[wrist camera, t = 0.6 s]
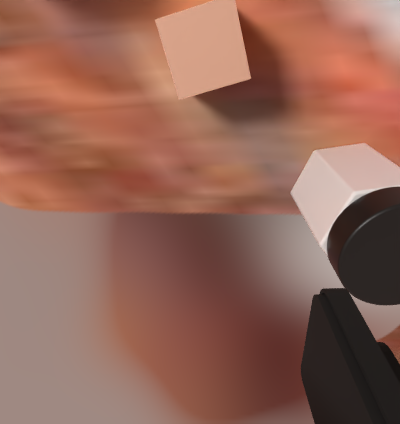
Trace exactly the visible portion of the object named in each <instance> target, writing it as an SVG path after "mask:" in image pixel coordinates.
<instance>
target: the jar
mask: <svg viewBox="0 0 400 424" xmlns="http://www.w3.org/2000/svg"><path fill="white" fill-rule="evenodd" d="M291 195H292V197H293V199H294V201H295V203H296V204H297V206H298V208H299V210H300V212H301V213H302V215H303V217H304V219H305V220H306V223H307V224H308V226H309V228H310V230H311V232H312V233H313V235H314V237H315V239H316V240H317V242H318V244H319V246H320V247H321V249H322V250H323V251H324V253H325V254H326V255H327V257H328V258H329V261H330V263H331V265H332V266H333V268H334V270H335V272H336V274H337V276H338V277H339V279H340V281H341V283H342V284H343V286H344V287H345V289H347V291H348V292H349V293H350V294H352V295H353V296H354V297H356V298H358V299H360V300H362V301H365V302H367V303H371V304H376V305H397V304H400V167H399V166H397V165H396V164H395V163H393V162H392V161H390V160H389V159H387V158H386V157H385V156H383V155H382V154H380V153H379V152H377V151H376V150H375V149H373V148H372V147H370V146H369V145H367V144H366V143H360V144H353V145H346V146H339V147H333V148H326V149H319V150H314V151H313V153H312V155H311V157H310V158H309V160H308V162H307V164H306V165H305V167H304V169H303V171H302V173H301V174H300V176H299V178H298V180H297V182H296V183H295V185H294V187H293V189H292V191H291Z"/></svg>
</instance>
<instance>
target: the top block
mask: <svg viewBox="0 0 400 424" xmlns="http://www.w3.org/2000/svg"><path fill="white" fill-rule="evenodd" d="M155 22H156V25H157V28H158V32H159V35H160V38H161V42H162V45H163V48H164V52H165V55H166V58H167V62H168V65H169V68H170V72H171V75H172V78H173V82H174V85H175V88H176V92H177V95H178V98H179V100H181V99H184V98H187V97H191V96H194V95H198V94H201V93H204V92H208V91H211V90H215V89H218V88H221V87H225V86H228V85H232V84H235V83H238V82H242V81H245V80H249V79H251V76H250V71H249V66H248V61H247V56H246V51H245V47H244V42H243V37H242V32H241V27H240V22H239V17H238V12H237V7H236V2H235V0H213V1H210V2H207V3H204V4H201V5H198V6H195V7H192V8H189V9H186V10H183V11H180V12H176V13H173V14H170V15H167V16H164V17H161V18H158V19H155Z"/></svg>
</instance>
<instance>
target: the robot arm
mask: <svg viewBox="0 0 400 424" xmlns="http://www.w3.org/2000/svg"><path fill="white" fill-rule="evenodd" d="M301 376H302V381H303V385H304V388H305V391H306V395H307V398H308V402H309V405H310V409H311V412H312V416H313V419H314V422H315V424H400V365H399V363H398V361H397V359H396V358H395V356H394V354H393V353H392V351H391V350H390V348H389V347H388V346H387V345H386V344H385V343H383V342H376V340H375V338H374V337H373V335H372V333H371V331H370V330H369V327H368V326H367V324H366V322H365V320H364V318H363V317H362V315H361V313H360V311H359V310H358V308H357V306H356V304H355V303H354V301H353V299H352V297H351V295H350V294H349V292H348V291H347V289H345V288H337V289H336V288H334V289H333V288H332V289H322V290H321V291H320V294H319V295H314V296H313V300H312V306H311V311H310V318H309V323H308V329H307V335H306V341H305V346H304V352H303V358H302V364H301Z"/></svg>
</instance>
